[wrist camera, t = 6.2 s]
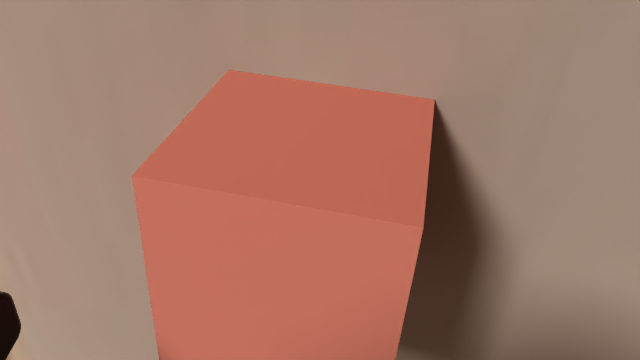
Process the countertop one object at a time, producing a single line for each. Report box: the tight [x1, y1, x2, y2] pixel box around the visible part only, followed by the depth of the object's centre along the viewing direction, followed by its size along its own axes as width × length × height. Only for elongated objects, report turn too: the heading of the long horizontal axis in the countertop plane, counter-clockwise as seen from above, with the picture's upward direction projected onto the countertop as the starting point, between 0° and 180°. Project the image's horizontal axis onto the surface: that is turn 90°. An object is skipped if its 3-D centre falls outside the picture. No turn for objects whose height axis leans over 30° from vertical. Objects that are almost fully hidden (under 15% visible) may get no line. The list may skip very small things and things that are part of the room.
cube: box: [132, 70, 435, 360], centre depth 13 cm, size 5×5×5 cm
